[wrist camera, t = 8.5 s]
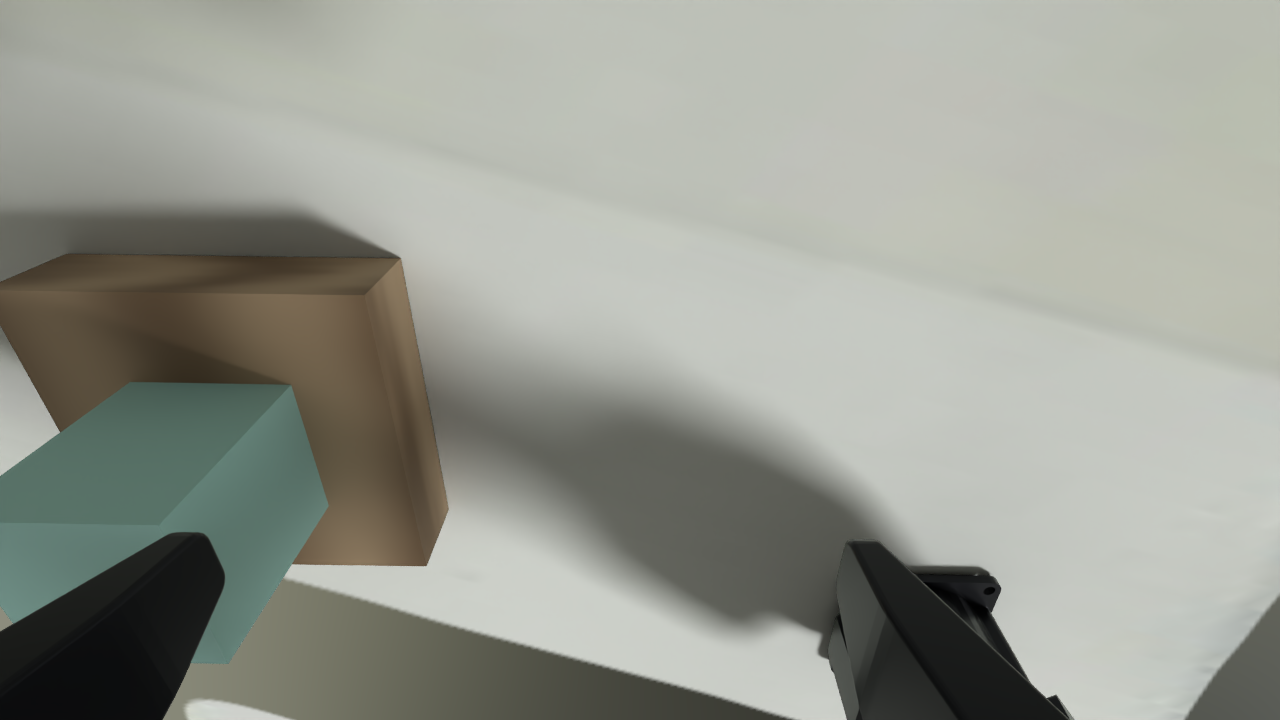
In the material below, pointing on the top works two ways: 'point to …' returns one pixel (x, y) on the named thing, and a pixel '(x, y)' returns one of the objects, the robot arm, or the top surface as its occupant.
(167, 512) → the teal block
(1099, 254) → the top surface
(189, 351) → the walnut base
